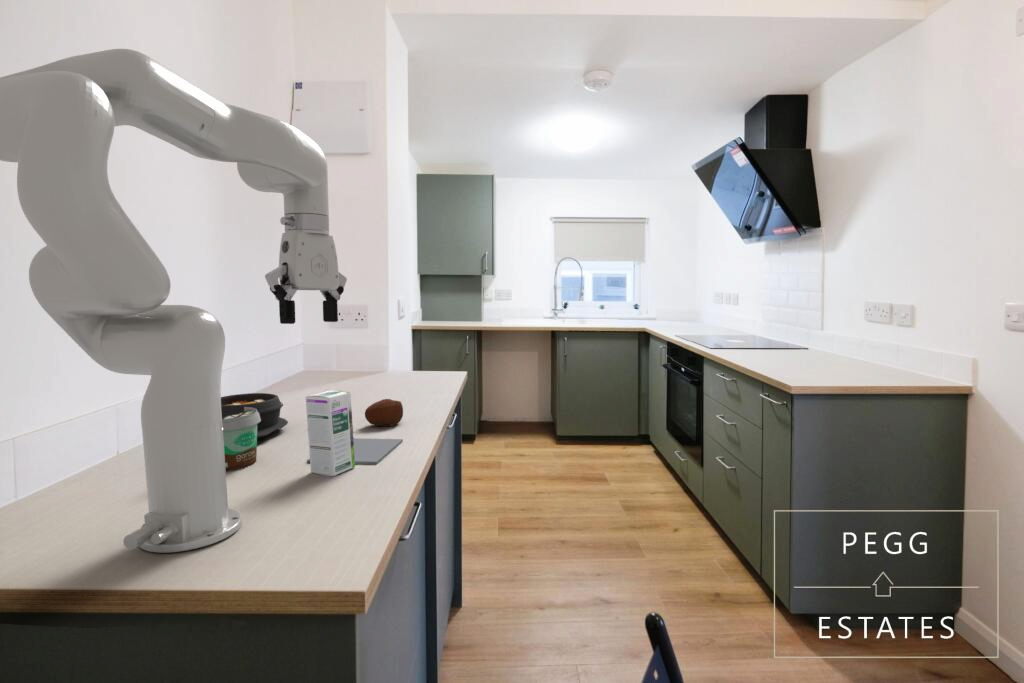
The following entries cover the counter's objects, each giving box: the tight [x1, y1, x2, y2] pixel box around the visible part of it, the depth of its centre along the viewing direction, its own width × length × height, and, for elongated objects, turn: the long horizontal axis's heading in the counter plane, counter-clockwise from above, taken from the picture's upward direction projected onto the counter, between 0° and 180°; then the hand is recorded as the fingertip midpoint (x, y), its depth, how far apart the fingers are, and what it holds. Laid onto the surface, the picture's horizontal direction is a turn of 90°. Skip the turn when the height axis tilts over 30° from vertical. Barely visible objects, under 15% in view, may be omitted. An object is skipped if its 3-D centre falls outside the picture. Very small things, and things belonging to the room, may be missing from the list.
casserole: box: [221, 392, 289, 439], centre depth 135 cm, size 25×19×8 cm
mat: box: [306, 437, 404, 465], centre depth 119 cm, size 16×14×1 cm
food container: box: [222, 407, 261, 472], centre depth 111 cm, size 12×6×10 cm, turn 168°
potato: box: [364, 398, 404, 427], centre depth 141 cm, size 7×9×6 cm
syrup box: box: [305, 390, 356, 477], centre depth 107 cm, size 6×6×14 cm
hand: (310, 322), depth 105 cm, fingers open, 9 cm apart
